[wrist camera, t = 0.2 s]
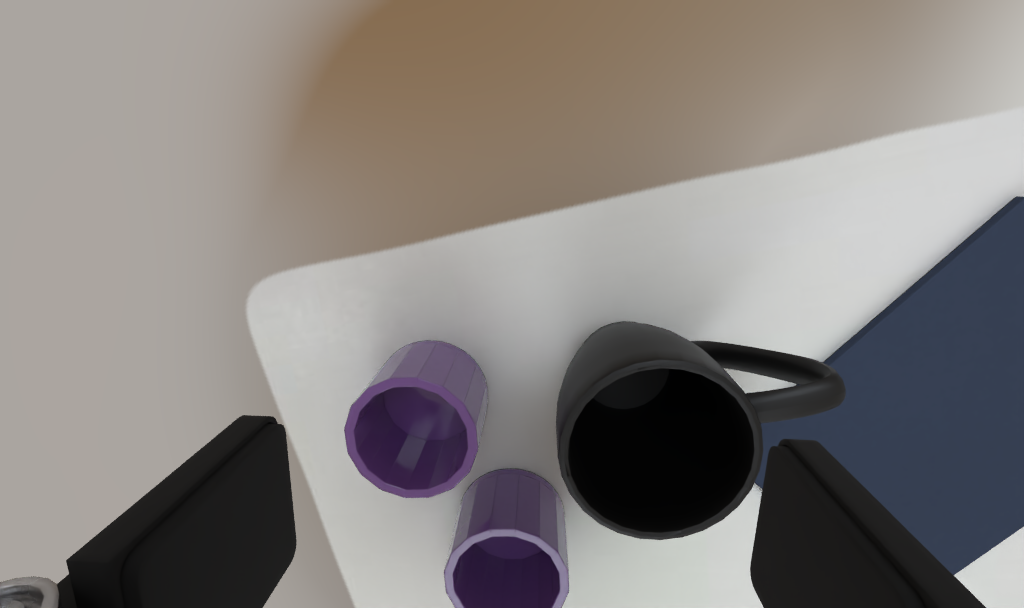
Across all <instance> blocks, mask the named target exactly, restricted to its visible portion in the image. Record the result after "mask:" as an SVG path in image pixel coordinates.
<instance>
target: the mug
mask: <svg viewBox="0 0 1024 608" xmlns="http://www.w3.org/2000/svg"><path fill="white" fill-rule="evenodd" d="M723 368H728V369H734V370H740V371H745V372H750V373H754V374H759V375H763V376H768V377H772V378H776V379H780V380H784V381H788V382H792V383H795V384H799V386H794V387H789V388H783V389H777V390H770V391H763V392H755V393H746V394H745V393H744V391H743V390H742V389H741V388H740V387H739V385H738V384H737V383H736V382H735V381H734V380H733V379H732V378H731V377H730V375H729V374H728V373H727V372H726V371H725V370H724V369H723ZM845 395H846V388H845V385H844V382H843V379H842V378H841V376H840V375H839V374H838V373H837V371H836V370H835V369H833V368H832V367H830V366H828V365H827V364H824V363H822V362H819V361H816V360H813V359H810V358H806V357H801V356H797V355H792V354H786V353H781V352H776V351H771V350H765V349H759V348H753V347H747V346H741V345H735V344H728V343H720V342H711V341H689V340H687V339H685V338H683V337H681V336H679V335H677V334H675V333H673V332H671V331H669V330H666V329H663V328H659V327H656V326H652V325H648V324H641V323H636V322H624V321H623V322H617V323H612V324H609V325H606V326H604V327H601V328H600V329H598V330H597V331H595V332H594V333H592V334H591V335H590V337H589V338H588V339H587V340H586V341H585V342H584V344H583V345H582V347H581V348H580V349H579V350H578V351H577V353H576V355H575V356H574V358H573V360H572V361H571V363H570V365H569V367H568V369H567V371H566V374H565V377H564V380H563V383H562V386H561V389H560V392H559V397H558V402H557V416H556V434H557V450H558V459H559V465H560V470H561V475H562V478H563V480H564V482H565V484H566V486H567V488H568V491H569V493H570V494H571V496H572V497H573V498H574V499H575V501H576V502H577V503H578V505H579V506H580V507H581V508H582V510H583V511H584V512H586V513H587V514H588V515H589V516H591V517H592V518H593V519H594V520H596V521H597V522H598V523H599V524H601V525H603V526H605V527H607V528H609V529H611V530H613V531H615V532H617V533H620V534H624V535H628V536H632V537H635V538H640V539H655V540H663V539H672V538H680V537H684V536H688V535H691V534H694V533H697V532H700V531H703V530H705V529H707V528H709V527H710V526H712V525H714V524H716V523H718V522H719V521H721V520H723V519H724V518H725V517H726V516H727V515H729V514H730V513H731V512H732V511H733V510H734V509H736V508H737V507H738V506H739V505H740V504H741V502H742V501H743V500H744V498H745V497H746V496H747V494H748V493H749V492H750V490H751V489H752V487H753V485H754V482H755V480H756V478H757V476H758V473H759V471H760V467H761V461H762V456H763V438H762V427H761V424H760V423H768V422H776V421H784V420H790V419H796V418H801V417H806V416H811V415H815V414H819V413H822V412H825V411H828V410H831V409H833V408H836V407H838V406H839V405H841V403H842V402H843V400H844V399H845Z"/></svg>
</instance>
